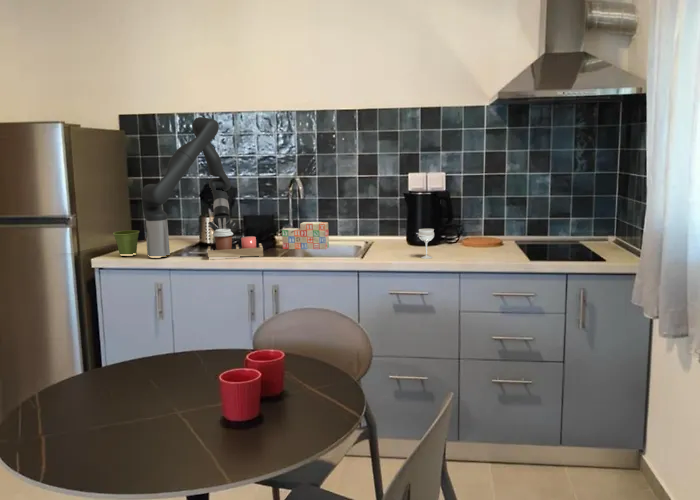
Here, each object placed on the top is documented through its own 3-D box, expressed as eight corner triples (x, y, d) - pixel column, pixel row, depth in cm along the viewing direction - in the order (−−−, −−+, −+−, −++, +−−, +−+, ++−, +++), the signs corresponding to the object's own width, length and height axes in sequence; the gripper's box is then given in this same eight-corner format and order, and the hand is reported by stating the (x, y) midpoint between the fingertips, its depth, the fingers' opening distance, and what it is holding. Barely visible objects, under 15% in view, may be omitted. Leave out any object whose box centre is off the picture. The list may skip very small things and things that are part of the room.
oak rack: (208, 255, 302) (208, 246, 302) (261, 251, 307) (260, 243, 306) (208, 260, 289) (207, 251, 289) (263, 256, 294) (262, 247, 293)
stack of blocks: (282, 249, 313) (281, 223, 311) (286, 247, 319) (285, 221, 317) (326, 249, 308) (325, 223, 306) (329, 247, 314) (328, 221, 312)
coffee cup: (236, 256, 296) (235, 230, 294) (216, 258, 293) (214, 231, 290) (232, 253, 304) (230, 227, 302) (212, 255, 301) (210, 229, 299)
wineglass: (422, 259, 276) (421, 231, 274) (416, 256, 282) (415, 229, 280) (437, 258, 278) (436, 230, 276) (430, 255, 284) (430, 228, 282)
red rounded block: (239, 255, 299) (238, 238, 298) (249, 253, 304) (248, 236, 303) (249, 256, 295) (248, 238, 294) (259, 254, 301) (258, 236, 299)
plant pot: (109, 257, 304) (106, 233, 302) (128, 253, 314) (126, 229, 312) (127, 259, 298) (125, 234, 296) (147, 254, 309) (145, 230, 307)
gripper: (207, 205, 318) (208, 234, 308) (234, 204, 321) (236, 232, 311) (208, 215, 324) (209, 243, 315) (235, 213, 327) (237, 242, 317)
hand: (223, 238), depth 313 cm, fingers closed
